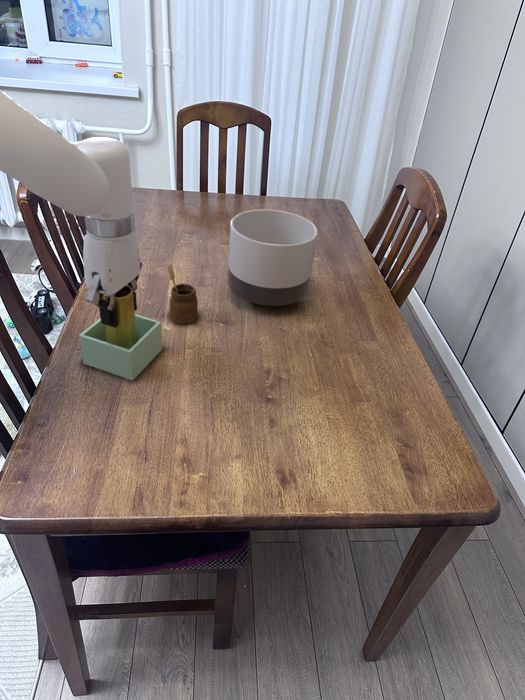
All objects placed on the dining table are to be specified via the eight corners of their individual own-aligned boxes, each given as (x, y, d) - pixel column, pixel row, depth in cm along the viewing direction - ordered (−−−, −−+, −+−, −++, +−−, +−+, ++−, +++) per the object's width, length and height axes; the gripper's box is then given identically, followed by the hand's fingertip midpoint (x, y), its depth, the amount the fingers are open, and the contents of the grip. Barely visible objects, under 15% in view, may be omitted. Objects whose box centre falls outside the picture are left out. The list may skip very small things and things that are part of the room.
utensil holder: (190, 327, 104) (190, 278, 97) (163, 320, 105) (162, 270, 98) (201, 313, 109) (202, 265, 101) (176, 306, 110) (175, 258, 103)
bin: (83, 363, 92) (78, 335, 88) (116, 334, 100) (113, 307, 96) (132, 380, 89) (130, 352, 85) (162, 349, 97) (161, 322, 93)
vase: (136, 365, 92) (130, 300, 83) (103, 362, 91) (94, 297, 83) (142, 345, 97) (138, 283, 88) (111, 343, 96) (104, 280, 88)
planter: (321, 307, 115) (335, 238, 105) (250, 324, 107) (257, 251, 96) (280, 270, 128) (288, 205, 118) (213, 282, 120) (216, 213, 109)
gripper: (120, 201, 85) (128, 290, 96) (54, 236, 72) (71, 335, 83) (158, 210, 83) (161, 300, 94) (97, 248, 70) (109, 347, 81)
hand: (119, 315), depth 89 cm, fingers closed on vase, 5 cm apart
